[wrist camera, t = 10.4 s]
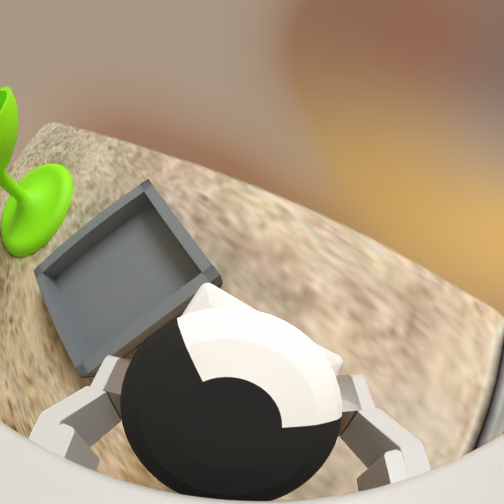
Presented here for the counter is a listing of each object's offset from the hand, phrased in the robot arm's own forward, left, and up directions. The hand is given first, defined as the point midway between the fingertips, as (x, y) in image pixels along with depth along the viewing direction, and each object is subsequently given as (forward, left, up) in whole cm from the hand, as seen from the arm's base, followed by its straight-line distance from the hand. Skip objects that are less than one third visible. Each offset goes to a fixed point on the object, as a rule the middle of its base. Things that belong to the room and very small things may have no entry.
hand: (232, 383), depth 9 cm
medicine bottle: (-1, 0, -9) cm, 9 cm away
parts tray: (-5, +14, -18) cm, 24 cm away
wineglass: (-13, +34, -19) cm, 41 cm away
